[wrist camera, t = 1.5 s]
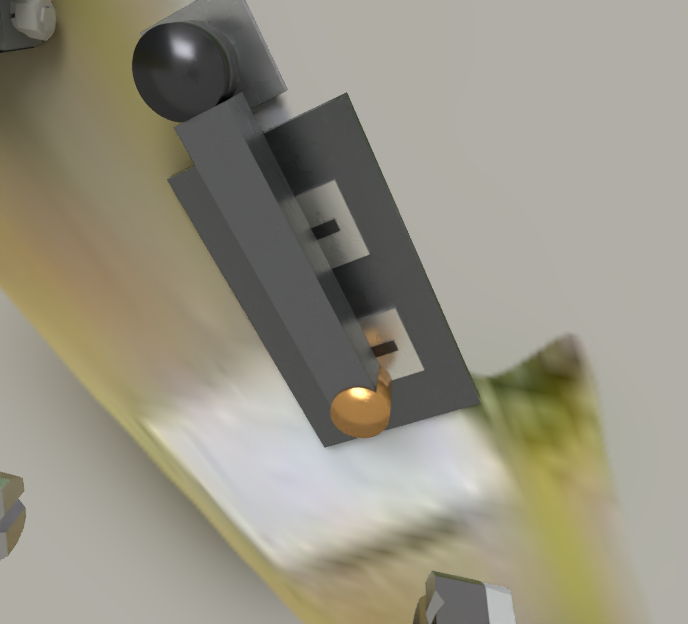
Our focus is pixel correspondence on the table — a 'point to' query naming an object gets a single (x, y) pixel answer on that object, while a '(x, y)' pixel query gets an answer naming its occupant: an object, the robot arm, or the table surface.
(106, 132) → the table surface
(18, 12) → the electrical component
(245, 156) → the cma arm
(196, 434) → the table surface
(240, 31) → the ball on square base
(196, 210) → the plate
